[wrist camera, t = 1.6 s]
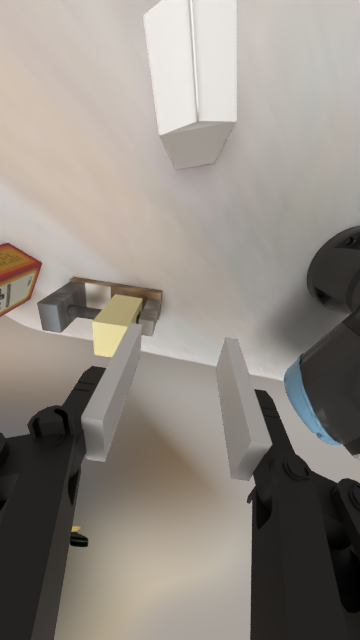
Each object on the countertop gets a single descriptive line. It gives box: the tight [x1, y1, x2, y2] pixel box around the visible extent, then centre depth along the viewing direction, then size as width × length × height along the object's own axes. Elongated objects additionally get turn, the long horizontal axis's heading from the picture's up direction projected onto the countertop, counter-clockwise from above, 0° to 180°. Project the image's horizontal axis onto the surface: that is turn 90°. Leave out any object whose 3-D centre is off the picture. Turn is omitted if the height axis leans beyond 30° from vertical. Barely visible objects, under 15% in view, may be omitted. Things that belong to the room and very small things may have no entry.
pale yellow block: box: [92, 294, 143, 357], centre depth 35 cm, size 5×6×10 cm
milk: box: [143, 0, 237, 170], centre depth 21 cm, size 6×6×22 cm
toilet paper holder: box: [37, 277, 162, 336], centre depth 39 cm, size 18×6×12 cm, turn 82°
